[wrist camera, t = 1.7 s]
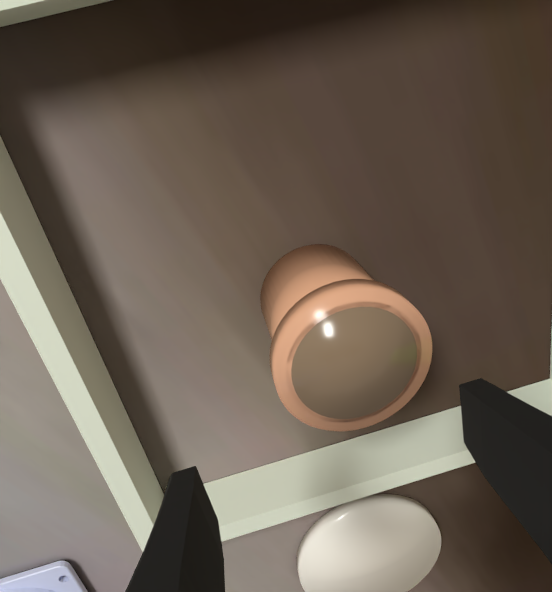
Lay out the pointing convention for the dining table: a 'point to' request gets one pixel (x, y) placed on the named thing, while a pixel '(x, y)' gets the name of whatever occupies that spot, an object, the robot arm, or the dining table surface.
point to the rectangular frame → (118, 428)
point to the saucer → (369, 546)
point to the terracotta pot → (341, 340)
